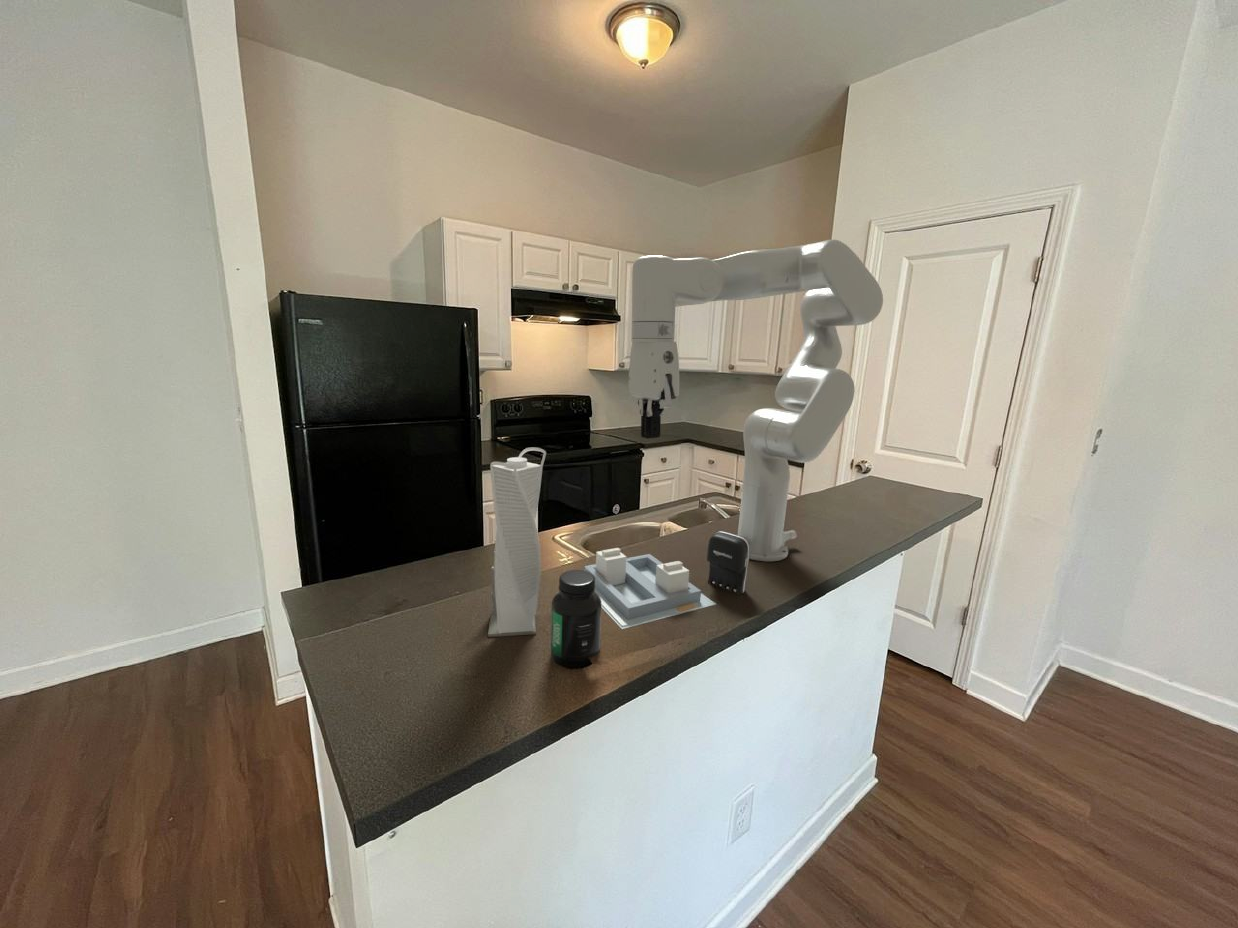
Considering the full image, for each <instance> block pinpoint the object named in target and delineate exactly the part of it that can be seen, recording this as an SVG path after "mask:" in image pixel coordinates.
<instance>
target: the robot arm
mask: <svg viewBox="0 0 1238 928" xmlns="http://www.w3.org/2000/svg"><path fill="white" fill-rule="evenodd" d="M632 264H633V265H632V275H631V278H632V280H631V282H632V283H631V285H632V286H631V341H630V342H631V347H630V353H629V354H630V356H629V367H628V392H629V393H630V395H631V396H633V397H632V401H633V402H634V403H635V404H637V406H638V409H639V415H640V416H641V417H640V437H641V438H645V439H653V438H654V439H655V438H656V439H657V438H660V437H661V422H662V421H661V418H662V416H663V415H664V410H665V409H668V408H669V409H670V408H671V407H672V405H673V403H672V400H677V398H679V395H680V363H679V362H680V360H679V351H678V346H677V345H678V344H677V341H675V338H676V337H675V336H676V335H675V332H676V311H677V310H676V307H678V308H679V307H684V306H685V307H686V306H695V305H696V306H697V305H703V304H706V303H709V302H710V303H711V302H721V301H745V300H753V299H760V298H766V297H773V296H779V295H780V296H782V295H787V294H795V293H800V292H801V293H802V292H806V293H805V294H804V295H803V297H802V300H801V302H800V309H799V310H800V318H801V323H802V329H803V341H802V344H801V346H800V347H799V350H798V351H797V354H796V355H795V357H794V358H793V360H792V361H791V362H790V364H789V366H788V367H787V369H786V370H785V372H784V374H783V375H782V376H781V378H780V380H779V382H778V384H777V386H776V388H775V392H774V397H775V400H776V402H777V404H778V405H779V406H780V407H783V408H784V409H781V408H773V407H765V408H760V409H756V410H755V411H752V413H751V414H749V415H748V417H747V418H746V420H745V422H744V425H743V431H742V432H743V433H742V436H743V438H742V439H743V446H744V447H743V448H744V469H743V480H742V489H741V498H740V499H741V500H740V508H739V511H740V512H739V519H738V527H737V528H738V529H737V535H738V536H741V537H744V538H745V539H747V540H748V542H749V545H750V554H749V560H752V561H760V562H777V561H778V562H779V561H782V560H784V559H786V558H787V557H788V555H789V547H788V546H787V545H785V543H786V542H787V541H788V540H789V541H790V540H793V539H794V540H795V539H796V538H797V536H798V535H797V532H796V530H794V529H792V530H787V531H786V530H785V531H784V529H785V528H784V527H785V520H786V513H787V503H788V497H789V488H790V481H791V471H790V467H789V466H790V465H789V462H788V460H789V461H791V462H795V463H796V462H797V463H802V464H804V463H805V464H806V463H810V462H812V461H814V460H815V459H817V458H818V457H819V456H820V455H821V454H822V453H823V452H824V450H825V449H826V447H827V446H828V444H829V443H830V441H831V439H832V438H833V437H834V434H835V433H836V432H837V430H838V429H839V427H840V425H841V424H842V422H843V421H844V419H845V418H846V416H847V415H848V412H849V411H850V409H851V407H852V405H853V401H854V399H855V390H856V389H855V382H854V380H853V378H852V376H851V375H850V374H849V373H848V372H847V371H845V370H842V369H840V368H837V367H838V365H839V363H840V362H841V359H842V354H843V347H842V343H841V340H840V337H839V334H838V330H837V327H843V326H844V327H845V326H847V327H848V326H861V325H862V326H863V325H866V324H869V323H871V322H873V321H874V320H875V319H876V318H878V316H879V314H880V313H881V311H882V308H883V303H884V296H883V291H882V288H881V286H880V284H879V282H878V281H877V280H876V278H875V277H874V276H873V274H872V273H871V272H870V271H869V269H868V268H867V267H866V265H865V264H864V263H863V261H862V260H861V259H860V257H859V256H858V255H857V254H856V252H854V251H853V249H852V248H850V247H849V245H847V244H846V243H844V242H842V241H841V240H838V239H826V240H823V241H819V242H818V241H817V242H812V243H808V244H801V245H796V246H787V247H781V248H768V249H767V248H766V249H756V250H755V249H754V250H750V251H743V252H739V253H736V254H731V255H729V256H725V257H721V258H718V259H717V258H715V259H710V258H707V257H690V258H689V257H688V258H672V257H669V256H665V255H664V256H663V255H646V256H641V257H638V258H636V259H635V260H634V262H633V263H632Z"/></svg>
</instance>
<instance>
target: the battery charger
mask: <svg viewBox="0 0 1238 928" xmlns="http://www.w3.org/2000/svg"><path fill="white" fill-rule="evenodd" d="M707 543H708V544H707V551H706V552H707V553H706V562H709V571H708V573H709V574H708V578H707V580H708V581H707V584H709V585H711V584H712V585H714V587H721V589H722V590H726V589H727V590H728V592H729V593H733V592H734V593H736V595H741V594H743V593H745V588H746V581H747V577H748V570H749V564H750V563H749V562H750V559H749V554H750V545H749V542H748V540H747V539H745V538H744V537H741V536H738V534H733V533H731V532H727V531H718V532H715V534H713V535H712V536H711V537H710V538H709V540H708V542H707Z"/></svg>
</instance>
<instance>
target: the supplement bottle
mask: <svg viewBox="0 0 1238 928" xmlns="http://www.w3.org/2000/svg"><path fill="white" fill-rule="evenodd" d="M558 580H559V581H558V583H559V585H558V591H557V592H556V593H555V594H554V596H553V598H552V600H551V606H550V607H551V611H550V613H551V615H550V617H551V621H550V625H551V627H550V630H551V631H550V633H551V634H550V653H551V659H552V660H553V661H554V662H555V664H556V665H558V666H560V668H563V669H566V670H567V669H568V670H583V669H585V668H588V667H591V666H592V665H593V662H592V661H591V658H593V657H595V656H596V655H597V654H598V653H599V651H600V648H601V630H602V629H601V627H602V625H601V624H602V607H601V599H600V597H599V595H598V594H597V593H596V592H595V577H594V575H593V574H592V573H590V572H587V571H584V569H573V570H571V569H570V570H567V571H564V572H562V574H560V575H559V579H558Z"/></svg>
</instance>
